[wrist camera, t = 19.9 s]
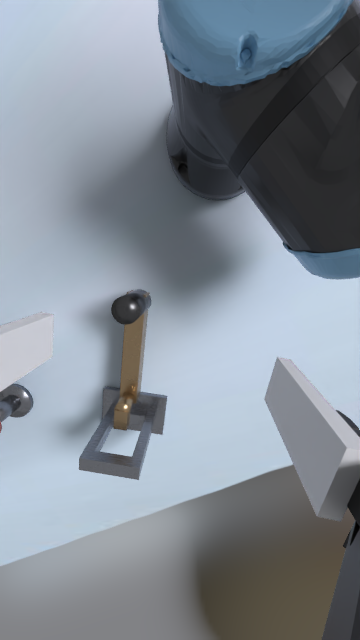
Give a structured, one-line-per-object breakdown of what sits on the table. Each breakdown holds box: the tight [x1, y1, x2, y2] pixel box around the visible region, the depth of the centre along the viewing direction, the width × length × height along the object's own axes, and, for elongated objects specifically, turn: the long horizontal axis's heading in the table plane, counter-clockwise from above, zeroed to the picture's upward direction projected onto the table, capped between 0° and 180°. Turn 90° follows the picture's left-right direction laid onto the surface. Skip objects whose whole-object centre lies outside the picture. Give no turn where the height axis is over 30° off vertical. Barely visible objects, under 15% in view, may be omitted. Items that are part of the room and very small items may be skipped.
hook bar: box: [111, 289, 151, 430], centre depth 36 cm, size 21×4×8 cm, turn 173°
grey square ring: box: [79, 386, 167, 480], centre depth 39 cm, size 8×12×14 cm, turn 83°
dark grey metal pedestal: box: [0, 384, 33, 422], centre depth 44 cm, size 7×7×7 cm
